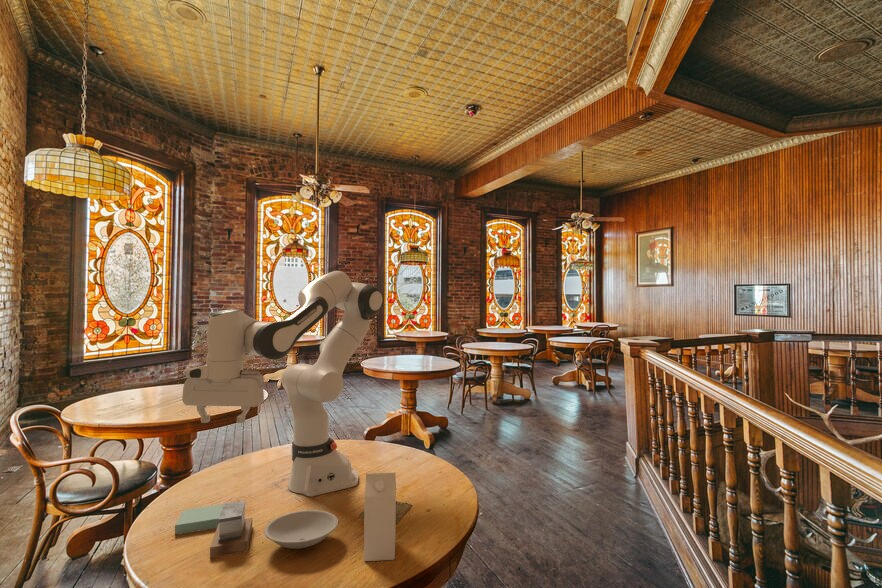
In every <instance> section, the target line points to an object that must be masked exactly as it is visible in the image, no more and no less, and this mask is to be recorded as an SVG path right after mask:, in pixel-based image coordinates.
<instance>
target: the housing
mask: <svg viewBox="0 0 882 588" xmlns="http://www.w3.org/2000/svg"><path fill="white" fill-rule="evenodd" d="M246 503H247V502H246V499H245V500H244V499H243V500H239V501H232V502H224V503H223V504H224V506H223V508H222V511H221V514H220V517H219V520H218V523H219V539H218V543H220V542H226V541H231V540H237V539H241V538H242V534H243V530H244V526H245V519H246Z"/></svg>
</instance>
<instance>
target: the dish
mask: <svg viewBox="0 0 882 588" xmlns="http://www.w3.org/2000/svg"><path fill="white" fill-rule="evenodd" d="M338 525H339V519H338V517H337V516H336V515H335V514H333V513H331V512H329V511H326V510H321V509H319V510H317V509H306V510H304V509H303V510H297V511H293V512H288V513H285V514H283V515H279V516H277V517H275V518H273V519H272V520H270V521H269V522H268V523H267V524H266V525H265V527H264V528H263V529H264V530H263V534H264V536H265V537H266V538H267V539H269V540H270V541H272V542H274V543H275V544H276V545H278V546H281V547H283V548H287V549H292V550H294V549H297V550H298V549H304V548H309V547H312V546H315V545H317V544H319V543H320V542H322V541H323V540H324V539H326V538H327V536H329V535H330V534H331V533H333V532H334V531H335V529H336V528H337V527H338Z"/></svg>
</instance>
